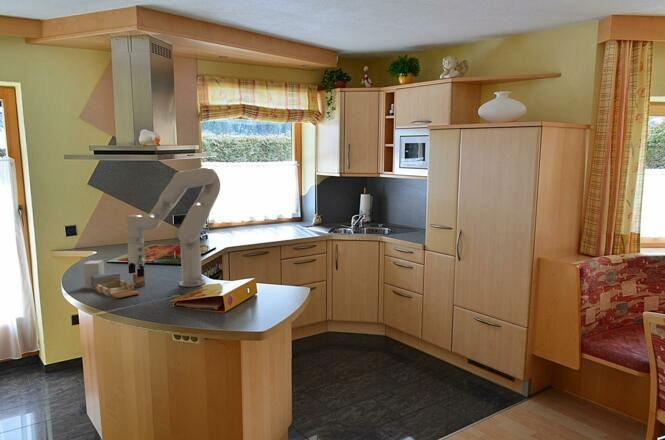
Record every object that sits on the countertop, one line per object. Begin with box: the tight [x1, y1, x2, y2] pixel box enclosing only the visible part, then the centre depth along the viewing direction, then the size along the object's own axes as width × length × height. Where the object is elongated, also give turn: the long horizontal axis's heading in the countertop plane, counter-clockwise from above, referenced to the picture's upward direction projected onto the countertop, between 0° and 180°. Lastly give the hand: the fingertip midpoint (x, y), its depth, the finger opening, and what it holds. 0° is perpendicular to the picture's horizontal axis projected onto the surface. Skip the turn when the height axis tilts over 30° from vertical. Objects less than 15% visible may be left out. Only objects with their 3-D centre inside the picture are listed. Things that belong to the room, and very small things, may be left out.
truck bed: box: [90, 271, 135, 297], centre depth 240 cm, size 21×12×7 cm, turn 45°
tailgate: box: [110, 290, 141, 298], centre depth 230 cm, size 1×10×9 cm
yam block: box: [132, 272, 146, 288], centre depth 246 cm, size 4×4×7 cm
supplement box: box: [82, 259, 106, 289], centre depth 250 cm, size 7×7×13 cm
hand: (136, 274), depth 246 cm, fingers open, 9 cm apart
